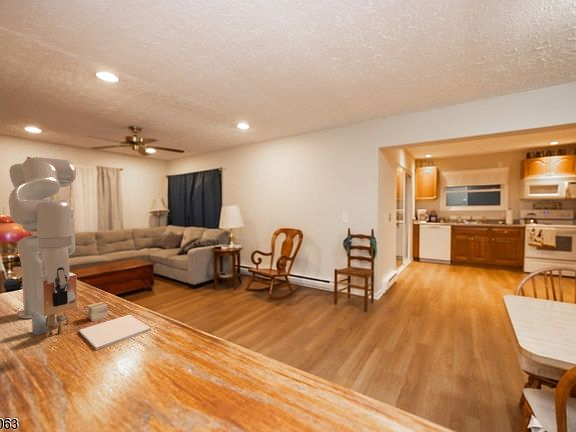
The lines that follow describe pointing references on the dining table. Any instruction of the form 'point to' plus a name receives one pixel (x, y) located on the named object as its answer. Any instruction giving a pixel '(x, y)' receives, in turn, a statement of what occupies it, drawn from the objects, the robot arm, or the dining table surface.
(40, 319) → the light grey domed piece
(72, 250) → the robot arm
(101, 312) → the birch block
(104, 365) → the dining table surface
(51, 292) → the small box
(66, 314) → the lion figurine
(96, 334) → the mat
